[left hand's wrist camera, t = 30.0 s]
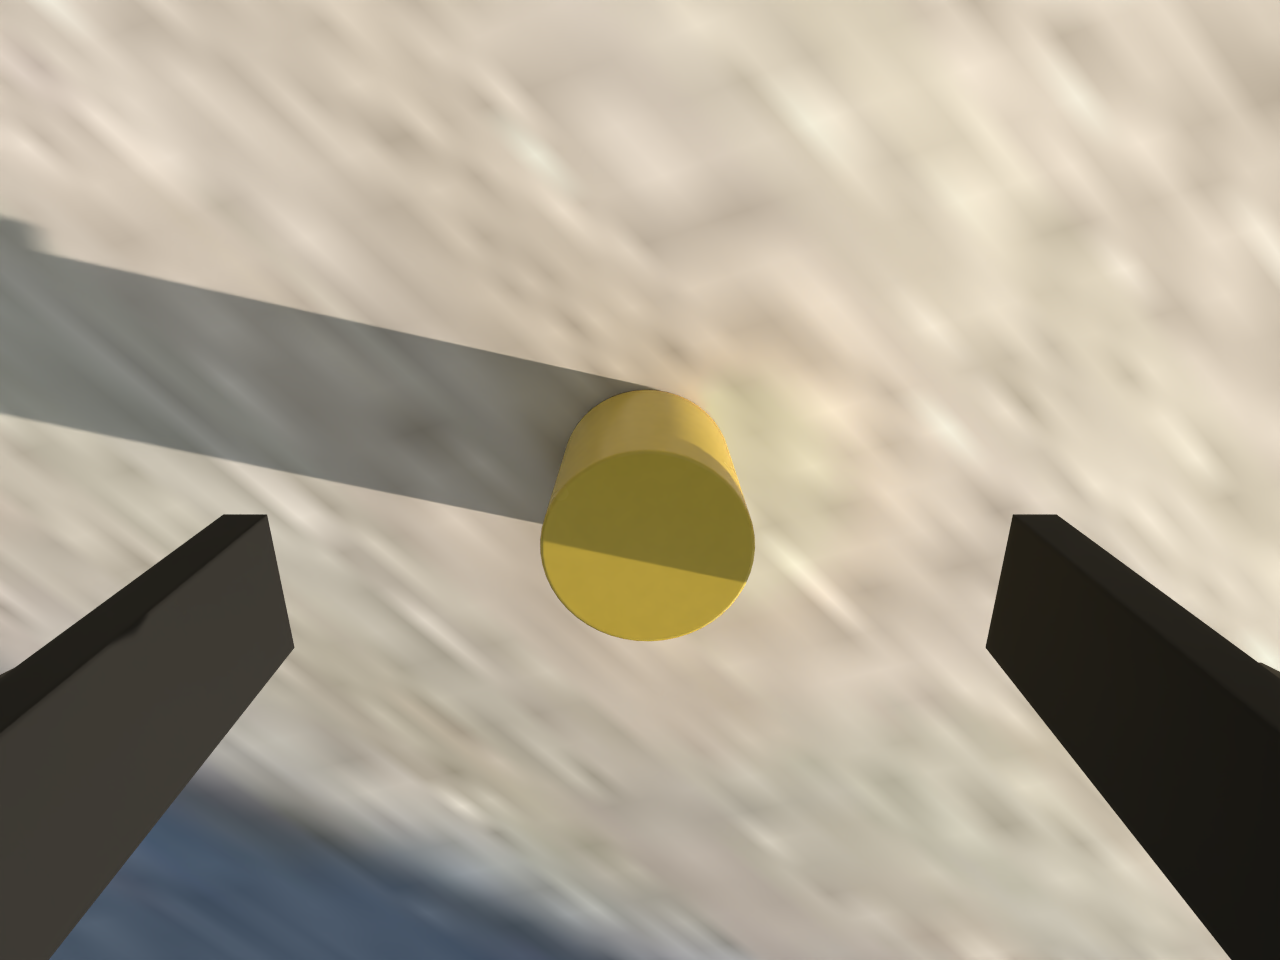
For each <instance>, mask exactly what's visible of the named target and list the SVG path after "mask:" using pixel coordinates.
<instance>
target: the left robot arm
mask: <svg viewBox="0 0 1280 960" xmlns="http://www.w3.org/2000/svg"><path fill="white" fill-rule="evenodd" d="M293 649H294V643H293V638H292V634H291V629H290V624H289V619H288V614H287V609H286V605H285V600H284V595H283V590H282V585H281V580H280V575H279V571H278V566H277V561H276V556H275V551H274V546H273V541H272V537H271V532H270V527H269V522H268V517H267V515H222V516H221V517H219V518H218V519H217V520H215V521H214V522H213V523H211V524H210V525H209V526H207V527H206V528H204V529H203V530H202V531H200V532H199V533H198V534H196V535H195V536H194V537H192V538H191V539H189V540H188V541H187V542H185V543H184V544H183V545H181V546H180V547H179V548H177V549H176V550H174V551H173V552H172V553H170V554H169V555H168V556H166V557H165V558H164V559H162V560H161V561H160V562H158V563H157V564H155V565H154V566H153V567H151V568H150V569H149V570H147V571H146V572H145V573H143V574H142V575H140V576H139V577H138V578H136V579H135V580H134V581H132V582H131V583H130V584H128V585H127V586H125V587H124V588H123V589H121V590H120V591H119V592H117V593H116V594H115V595H113V596H112V597H110V598H109V599H108V600H106V601H105V602H104V603H102V604H101V605H100V606H98V607H97V608H95V609H94V610H93V611H91V612H90V613H89V614H87V615H86V616H85V617H83V618H82V619H81V620H79V621H78V622H76V623H75V624H74V625H72V626H71V627H70V628H68V629H67V630H66V631H64V632H63V633H61V634H60V635H59V636H57V637H56V638H55V639H53V640H52V641H51V642H49V643H48V644H46V645H45V646H44V647H42V648H41V649H40V650H38V651H37V652H36V653H34V654H33V655H31V656H30V657H29V658H27V659H26V660H25V661H23V662H22V663H21V664H19V665H18V666H17V667H15V668H13V669H11V670H9V671H7V672H5V673H3V674H1V675H0V960H49V959H50V957H51V956H52V955H53V954H54V952H55V951H56V950H57V948H58V947H59V946H60V945H61V943H62V942H63V941H64V940H65V938H66V937H67V936H68V934H69V933H70V932H71V931H72V929H73V928H74V927H75V926H76V924H77V923H78V922H79V921H80V919H81V918H82V917H83V915H84V914H85V913H86V912H87V910H88V909H89V908H90V907H91V905H92V904H93V903H94V901H95V900H96V899H97V898H98V896H99V895H100V894H101V893H102V891H103V890H104V889H105V887H106V886H107V885H108V884H109V882H110V881H111V880H112V879H113V877H114V876H115V875H116V874H117V872H118V871H119V870H120V868H121V867H122V866H123V865H124V863H125V862H126V861H127V860H128V858H129V857H130V856H131V854H132V853H133V852H134V851H135V849H136V848H137V847H138V846H139V844H140V843H141V842H142V841H143V839H144V838H145V837H146V835H147V834H148V833H149V832H150V830H151V829H152V828H153V827H154V825H155V824H156V823H157V821H158V820H159V819H160V818H161V816H162V815H163V814H164V813H165V811H166V810H167V809H168V807H169V806H170V805H171V804H172V802H173V801H174V800H175V799H176V797H177V796H178V795H179V794H180V792H181V791H182V790H183V788H184V787H185V786H186V785H187V783H188V782H189V781H190V780H191V778H192V777H193V776H194V774H195V773H196V772H197V771H198V769H199V768H200V767H201V766H202V764H203V763H204V762H205V760H206V759H207V758H208V757H209V755H210V754H211V753H212V752H213V750H214V749H215V748H216V747H217V745H218V744H219V743H220V741H221V740H222V739H223V738H224V736H225V735H226V734H227V733H228V731H229V730H230V729H231V727H232V726H233V725H234V724H235V722H236V721H237V720H238V719H239V717H240V716H241V715H242V714H243V712H244V711H245V710H246V708H247V707H248V706H249V705H250V703H251V702H252V701H253V700H254V698H255V697H256V696H257V694H258V693H259V692H260V691H261V689H262V688H263V687H264V686H265V684H266V683H267V682H268V680H269V679H270V678H271V677H272V675H273V674H274V673H275V672H276V670H277V669H278V668H279V667H280V665H281V664H282V663H283V661H284V660H285V659H286V658H287V656H288V655H289V654H290V653H291V651H292V650H293ZM986 649H987V650H988V651H989V653H990V654H991V655H992V656H993V658H994V659H995V660H996V661H997V663H998V664H999V665H1000V667H1001V668H1002V669H1003V670H1004V672H1005V673H1006V674H1007V675H1008V677H1009V678H1010V679H1011V680H1012V682H1013V683H1014V684H1015V686H1016V687H1017V688H1018V689H1019V691H1020V692H1021V693H1022V694H1023V696H1024V697H1025V698H1026V700H1027V701H1028V702H1029V703H1030V705H1031V706H1032V707H1033V708H1034V710H1035V711H1036V712H1037V714H1038V715H1039V716H1040V717H1041V719H1042V720H1043V721H1044V722H1045V724H1046V725H1047V726H1048V727H1049V729H1050V730H1051V731H1052V733H1053V734H1054V735H1055V736H1056V738H1057V739H1058V740H1059V741H1060V743H1061V744H1062V745H1063V747H1064V748H1065V749H1066V750H1067V752H1068V753H1069V754H1070V755H1071V757H1072V758H1073V759H1074V760H1075V762H1076V763H1077V764H1078V766H1079V767H1080V768H1081V769H1082V771H1083V772H1084V773H1085V774H1086V776H1087V777H1088V778H1089V780H1090V781H1091V782H1092V783H1093V785H1094V786H1095V787H1096V788H1097V790H1098V791H1099V792H1100V794H1101V795H1102V796H1103V797H1104V799H1105V800H1106V801H1107V802H1108V804H1109V805H1110V806H1111V807H1112V809H1113V810H1114V811H1115V813H1116V814H1117V815H1118V816H1119V818H1120V819H1121V820H1122V821H1123V823H1124V824H1125V825H1126V827H1127V828H1128V829H1129V830H1130V832H1131V833H1132V834H1133V835H1134V837H1135V838H1136V839H1137V841H1138V842H1139V843H1140V844H1141V846H1142V847H1143V848H1144V849H1145V851H1146V852H1147V853H1148V854H1149V856H1150V857H1151V858H1152V860H1153V861H1154V862H1155V863H1156V865H1157V866H1158V867H1159V868H1160V870H1161V871H1162V872H1163V874H1164V875H1165V876H1166V877H1167V879H1168V880H1169V881H1170V882H1171V884H1172V885H1173V886H1174V887H1175V889H1176V890H1177V891H1178V893H1179V894H1180V895H1181V896H1182V898H1183V899H1184V900H1185V901H1186V903H1187V904H1188V905H1189V907H1190V908H1191V909H1192V910H1193V912H1194V913H1195V914H1196V915H1197V917H1198V918H1199V919H1200V921H1201V922H1202V923H1203V924H1204V926H1205V927H1206V928H1207V929H1208V931H1209V932H1210V933H1211V934H1212V936H1213V937H1214V938H1215V940H1216V941H1217V942H1218V943H1219V945H1220V946H1221V947H1222V948H1223V950H1224V951H1225V952H1226V954H1227V955H1228V956H1229V957H1230V959H1231V960H1280V672H1279V671H1277V670H1275V669H1273V668H1271V667H1269V666H1267V665H1265V664H1263V663H1258V662H1257V661H1255V660H1254V659H1253V658H1251V657H1250V656H1249V655H1247V654H1246V653H1244V652H1243V651H1242V650H1240V649H1239V648H1238V647H1236V646H1235V645H1234V644H1232V643H1231V642H1229V641H1228V640H1227V639H1225V638H1224V637H1223V636H1221V635H1220V634H1219V633H1217V632H1216V631H1214V630H1213V629H1212V628H1210V627H1209V626H1208V625H1206V624H1205V623H1204V622H1202V621H1201V620H1199V619H1198V618H1197V617H1195V616H1194V615H1193V614H1191V613H1190V612H1189V611H1187V610H1186V609H1185V608H1183V607H1182V606H1180V605H1179V604H1178V603H1176V602H1175V601H1174V600H1172V599H1171V598H1170V597H1168V596H1167V595H1165V594H1164V593H1163V592H1161V591H1160V590H1159V589H1157V588H1156V587H1155V586H1153V585H1152V584H1150V583H1149V582H1148V581H1146V580H1145V579H1144V578H1142V577H1141V576H1140V575H1138V574H1137V573H1135V572H1134V571H1133V570H1131V569H1130V568H1129V567H1127V566H1126V565H1125V564H1123V563H1122V562H1120V561H1119V560H1118V559H1116V558H1115V557H1114V556H1112V555H1111V554H1110V553H1108V552H1107V551H1106V550H1104V549H1103V548H1101V547H1100V546H1099V545H1097V544H1096V543H1095V542H1093V541H1092V540H1091V539H1089V538H1088V537H1086V536H1085V535H1084V534H1082V533H1081V532H1080V531H1078V530H1077V529H1076V528H1074V527H1073V526H1071V525H1070V524H1069V523H1067V522H1066V521H1065V520H1063V519H1062V518H1061V517H1059V516H1058V515H1013V517H1012V522H1011V527H1010V532H1009V537H1008V541H1007V546H1006V551H1005V556H1004V561H1003V566H1002V571H1001V575H1000V580H999V585H998V590H997V595H996V600H995V605H994V609H993V614H992V619H991V624H990V629H989V634H988V638H987V643H986Z"/></svg>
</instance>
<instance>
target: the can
mask: <svg viewBox="0 0 1280 960" xmlns="http://www.w3.org/2000/svg"><path fill="white" fill-rule="evenodd" d="M754 552H755V535H754V530H753V525H752V521H751V518H750V515H749V512H748V509H747V506H746V502H745V499H744V496H743V493H742V490H741V487H740V484H739V481H738V478H737V475H736V472H735V469H734V466H733V463H732V460H731V456H730V453H729V450H728V447H727V444H726V441H725V439H724V437H723V435H722V433H721V431H720V429H719V428H718V426H717V425H716V423H715V422H714V421H713V420H712V418H711V417H710V416H709V415H708V414H707V413H706V412H705V411H703V410H702V409H701V408H700V407H699V406H697V405H696V404H694V403H692V402H691V401H689V400H687V399H685V398H683V397H680V396H678V395H675V394H672V393H668V392H663V391H657V390H638V391H631V392H626V393H622V394H619V395H616V396H613V397H611V398H609V399H607V400H605V401H603V402H601V403H600V404H598V405H597V406H596V407H594V408H593V409H591V410H590V411H589V412H588V413H587V414H586V415H585V416H584V417H583V418H582V419H581V421H580V422H579V423H578V424H577V426H576V427H575V429H574V431H573V432H572V434H571V436H570V439H569V441H568V443H567V446H566V450H565V453H564V456H563V460H562V463H561V466H560V469H559V473H558V476H557V479H556V482H555V486H554V489H553V492H552V495H551V499H550V502H549V505H548V509H547V512H546V515H545V519H544V522H543V526H542V531H541V538H540V553H541V559H542V565H543V568H544V571H545V575H546V577H547V579H548V582H549V584H550V586H551V588H552V589H553V591H554V592H555V594H556V595H557V597H558V598H559V600H560V601H561V602H562V603H563V604H564V606H565V607H566V608H567V609H568V610H569V611H570V612H571V613H572V614H574V615H575V616H576V617H577V618H578V619H580V620H581V621H583V622H584V623H586V624H587V625H589V626H591V627H593V628H595V629H596V630H598V631H601V632H603V633H606V634H608V635H611V636H615V637H619V638H623V639H628V640H635V641H659V640H667V639H672V638H677V637H680V636H683V635H687V634H689V633H692V632H694V631H696V630H699V629H701V628H702V627H704V626H706V625H708V624H709V623H711V622H712V621H714V620H715V619H716V618H718V617H719V616H720V615H722V614H723V613H724V612H725V611H726V610H727V609H728V608H729V607H730V606H731V605H732V603H733V602H734V601H735V600H736V598H737V597H738V596H739V594H740V593H741V591H742V589H743V588H744V586H745V584H746V582H747V579H748V577H749V575H750V572H751V568H752V565H753V561H754Z"/></svg>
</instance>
